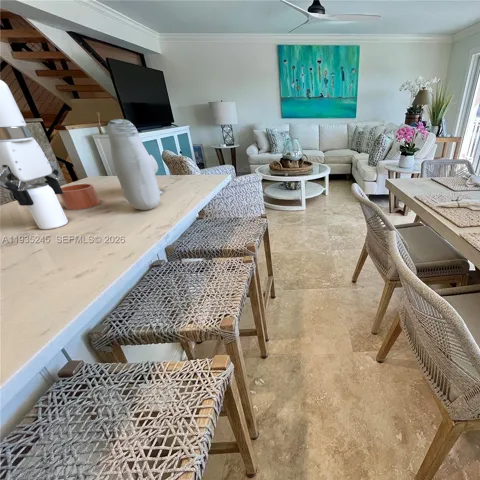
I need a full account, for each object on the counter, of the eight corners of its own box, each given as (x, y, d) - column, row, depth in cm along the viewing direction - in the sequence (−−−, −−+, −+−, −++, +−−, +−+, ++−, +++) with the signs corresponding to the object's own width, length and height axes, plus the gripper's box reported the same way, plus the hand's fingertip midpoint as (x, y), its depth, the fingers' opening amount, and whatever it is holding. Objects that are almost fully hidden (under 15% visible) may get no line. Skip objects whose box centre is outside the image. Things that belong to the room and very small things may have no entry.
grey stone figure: (169, 206, 92) (145, 118, 79) (138, 216, 84) (106, 120, 71) (154, 201, 97) (129, 117, 84) (124, 210, 89) (91, 119, 76)
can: (46, 222, 80) (25, 183, 74) (72, 220, 82) (54, 181, 76) (34, 231, 74) (11, 190, 69) (63, 228, 76) (43, 187, 71)
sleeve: (75, 213, 86) (66, 193, 83) (61, 209, 90) (51, 189, 87) (106, 205, 94) (98, 185, 90) (92, 201, 97) (84, 182, 94)
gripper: (26, 131, 74) (54, 190, 82) (-46, 138, 59) (-3, 210, 67) (54, 131, 75) (79, 190, 83) (-11, 138, 59) (29, 209, 67)
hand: (43, 199), depth 75 cm, fingers open, 9 cm apart
